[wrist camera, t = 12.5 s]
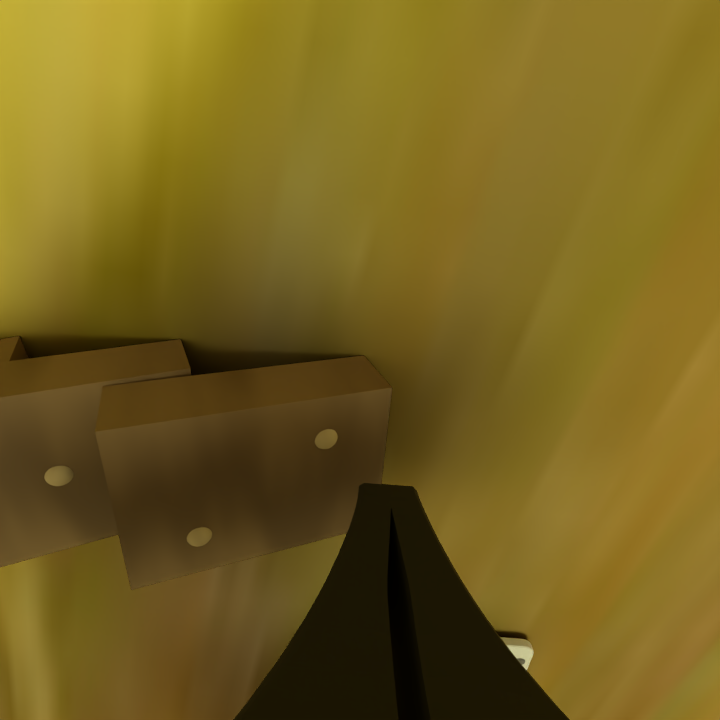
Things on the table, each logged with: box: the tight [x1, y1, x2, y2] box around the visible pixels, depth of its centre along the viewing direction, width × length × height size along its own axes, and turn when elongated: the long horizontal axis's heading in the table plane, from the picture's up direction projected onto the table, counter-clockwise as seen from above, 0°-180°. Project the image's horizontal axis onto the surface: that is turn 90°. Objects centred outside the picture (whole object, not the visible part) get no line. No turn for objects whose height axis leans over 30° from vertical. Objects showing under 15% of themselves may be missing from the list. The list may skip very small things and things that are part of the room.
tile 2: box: [0, 339, 191, 567], centre depth 13 cm, size 5×2×7 cm
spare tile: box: [95, 355, 392, 590], centre depth 13 cm, size 5×2×7 cm
